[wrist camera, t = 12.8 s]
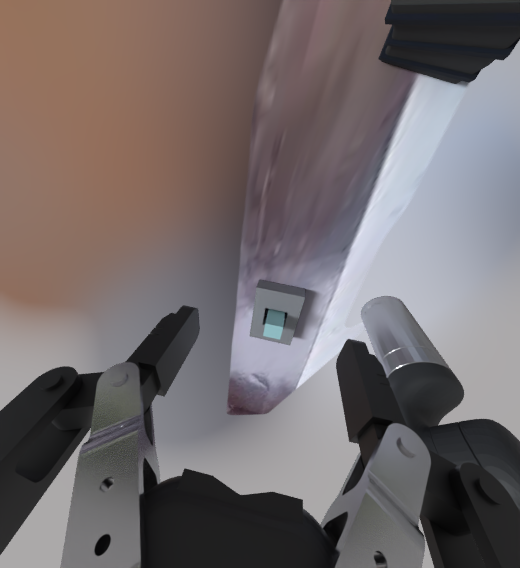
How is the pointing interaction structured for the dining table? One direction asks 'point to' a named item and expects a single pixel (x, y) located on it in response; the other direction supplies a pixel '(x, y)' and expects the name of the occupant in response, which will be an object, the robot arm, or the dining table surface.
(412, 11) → the black ridged block
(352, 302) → the dining table surface
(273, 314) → the teal rectangular block
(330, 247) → the dining table surface
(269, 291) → the grey slotted block
